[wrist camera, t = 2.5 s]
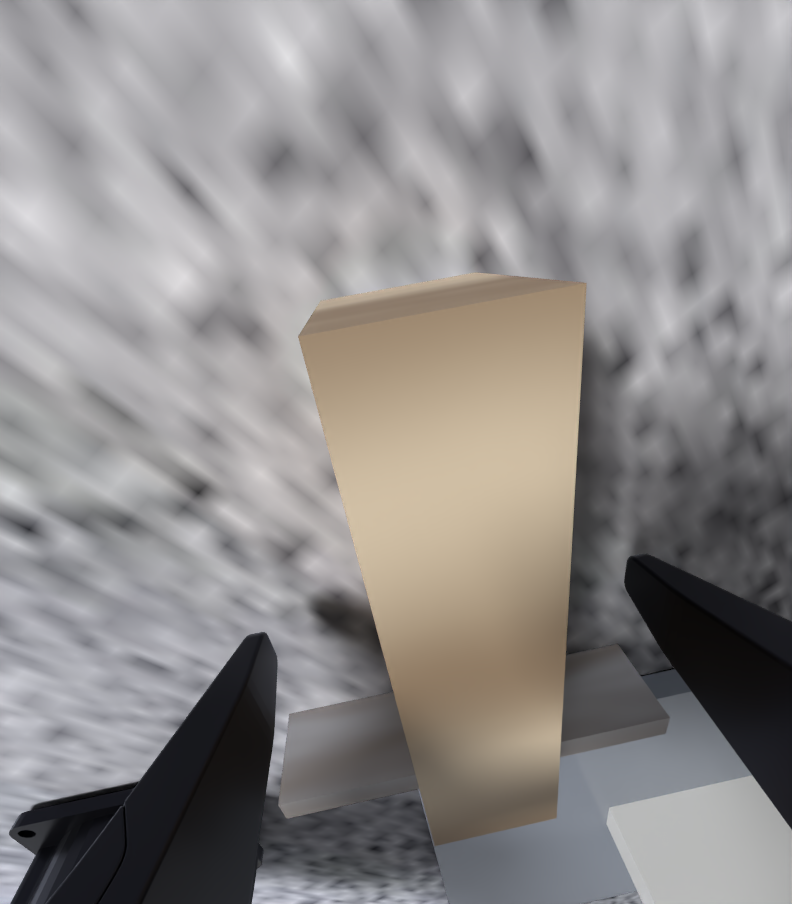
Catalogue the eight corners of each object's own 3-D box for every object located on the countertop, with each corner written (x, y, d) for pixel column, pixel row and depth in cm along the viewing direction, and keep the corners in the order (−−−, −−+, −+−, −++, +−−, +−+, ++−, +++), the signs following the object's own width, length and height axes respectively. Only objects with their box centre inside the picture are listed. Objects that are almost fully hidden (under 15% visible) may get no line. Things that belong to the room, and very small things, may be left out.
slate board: (453, 910, 22) (456, 932, 21) (405, 727, 14) (408, 753, 13) (763, 839, 22) (777, 858, 22) (893, 621, 14) (923, 640, 13)
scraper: (111, 338, 7) (-110, 412, 4) (671, 235, 8) (951, 215, 4) (296, 723, 13) (278, 896, 10) (612, 655, 13) (709, 797, 10)
